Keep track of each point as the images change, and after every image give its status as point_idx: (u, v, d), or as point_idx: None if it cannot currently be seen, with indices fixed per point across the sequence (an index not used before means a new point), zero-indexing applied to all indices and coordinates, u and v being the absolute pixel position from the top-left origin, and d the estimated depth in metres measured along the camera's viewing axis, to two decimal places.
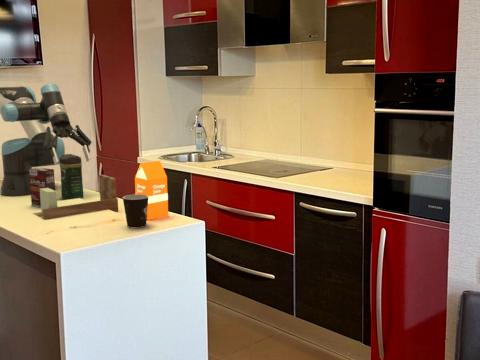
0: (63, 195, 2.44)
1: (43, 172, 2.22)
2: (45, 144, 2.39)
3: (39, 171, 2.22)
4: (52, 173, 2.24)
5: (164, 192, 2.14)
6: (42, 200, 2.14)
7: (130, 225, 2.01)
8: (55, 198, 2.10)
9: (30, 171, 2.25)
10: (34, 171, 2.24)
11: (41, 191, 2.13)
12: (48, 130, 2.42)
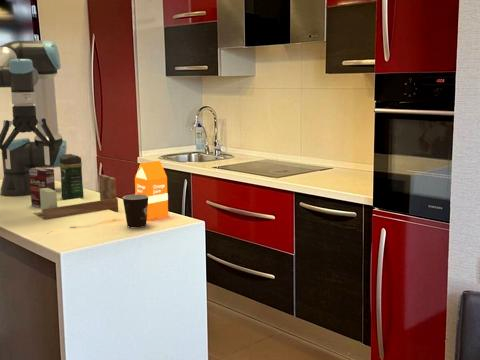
0: (63, 195, 2.44)
1: (43, 172, 2.22)
2: None
3: (39, 171, 2.22)
4: (52, 173, 2.24)
5: (164, 192, 2.14)
6: (42, 200, 2.14)
7: (130, 225, 2.01)
8: (55, 198, 2.10)
9: (30, 171, 2.25)
10: (34, 171, 2.24)
11: (41, 191, 2.13)
12: (7, 125, 2.00)
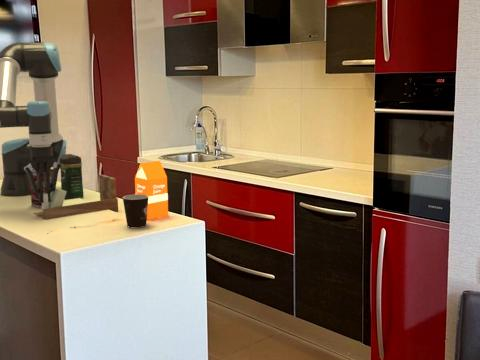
0: None
1: None
2: (35, 190, 2.08)
3: None
4: None
5: (164, 192, 2.14)
6: None
7: (130, 225, 2.01)
8: (63, 198, 2.12)
9: None
10: (34, 171, 2.24)
11: None
12: (29, 172, 2.06)
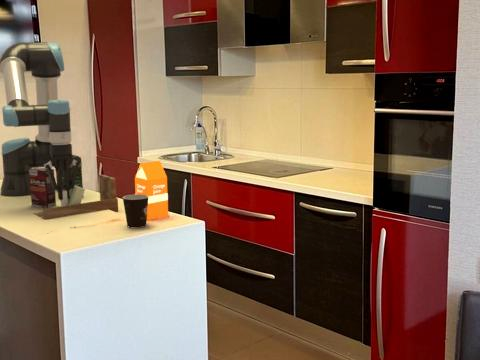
0: None
1: (43, 172, 2.22)
2: (55, 187, 2.12)
3: (39, 171, 2.22)
4: None
5: (164, 192, 2.14)
6: None
7: (130, 225, 2.01)
8: (81, 195, 2.16)
9: (30, 171, 2.25)
10: (34, 171, 2.24)
11: None
12: (49, 169, 2.10)
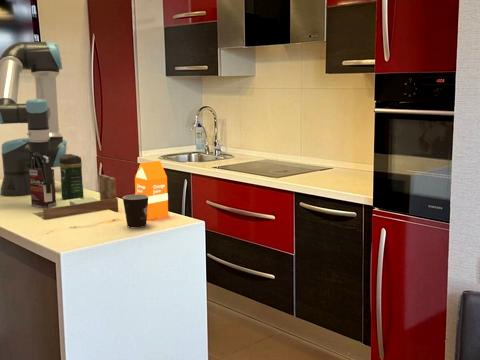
0: (63, 195, 2.44)
1: None
2: None
3: (39, 171, 2.22)
4: (52, 173, 2.24)
5: (164, 192, 2.14)
6: (84, 199, 2.23)
7: (130, 225, 2.01)
8: None
9: (30, 171, 2.25)
10: (34, 171, 2.24)
11: (92, 198, 2.26)
12: (31, 158, 2.28)
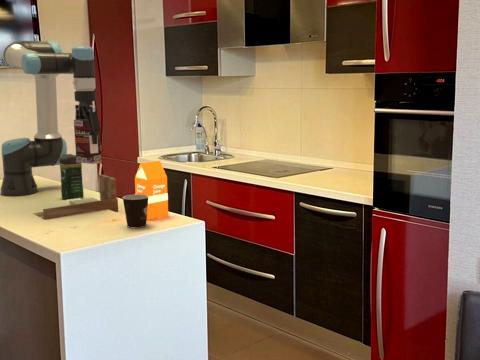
0: (63, 195, 2.44)
1: None
2: None
3: (85, 121, 2.15)
4: None
5: (164, 192, 2.14)
6: (84, 199, 2.23)
7: (130, 225, 2.01)
8: None
9: (75, 122, 2.17)
10: (79, 122, 2.16)
11: (92, 198, 2.26)
12: (76, 109, 2.21)
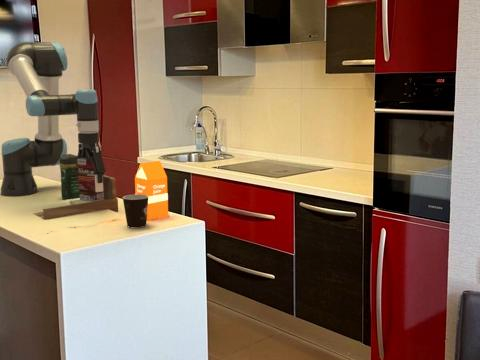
0: (63, 195, 2.44)
1: None
2: (76, 164, 2.28)
3: (88, 160, 2.18)
4: None
5: (164, 192, 2.14)
6: None
7: (130, 225, 2.01)
8: None
9: (78, 160, 2.20)
10: (83, 160, 2.19)
11: None
12: (79, 148, 2.24)
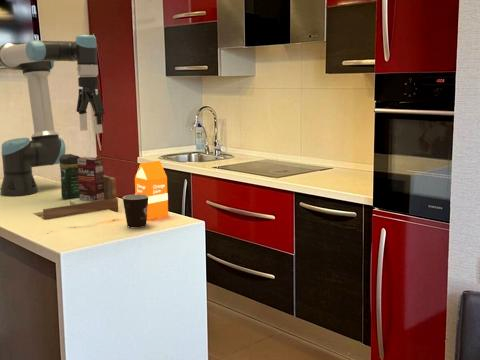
0: (63, 195, 2.44)
1: (92, 161, 2.17)
2: (77, 109, 2.37)
3: (88, 160, 2.18)
4: (101, 163, 2.20)
5: (164, 192, 2.14)
6: None
7: (130, 225, 2.01)
8: None
9: (78, 160, 2.20)
10: (83, 160, 2.19)
11: None
12: (79, 93, 2.34)
